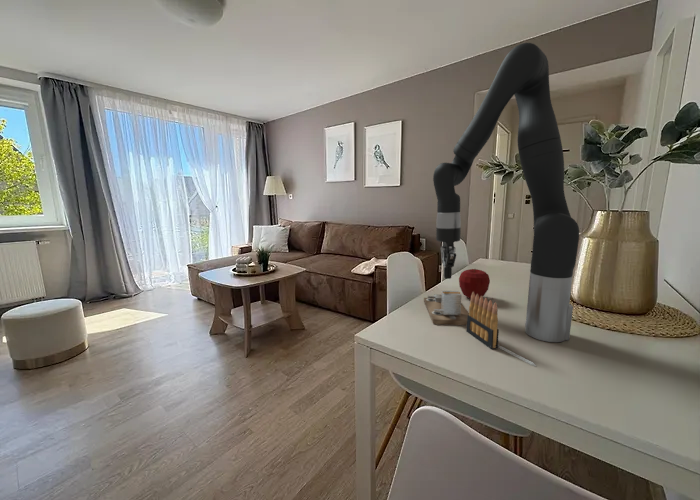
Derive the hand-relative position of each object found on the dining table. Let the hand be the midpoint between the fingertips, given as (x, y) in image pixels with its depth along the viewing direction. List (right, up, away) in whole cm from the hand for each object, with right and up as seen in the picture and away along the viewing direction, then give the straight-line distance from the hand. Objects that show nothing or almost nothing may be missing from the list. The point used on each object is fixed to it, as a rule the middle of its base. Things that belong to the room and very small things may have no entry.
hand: (447, 278), depth 97 cm
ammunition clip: (+2, -15, -19) cm, 24 cm away
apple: (+14, -9, +13) cm, 21 cm away
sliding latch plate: (0, -11, 0) cm, 11 cm away
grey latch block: (-2, -10, -6) cm, 12 cm away
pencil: (+6, -16, -26) cm, 31 cm away
